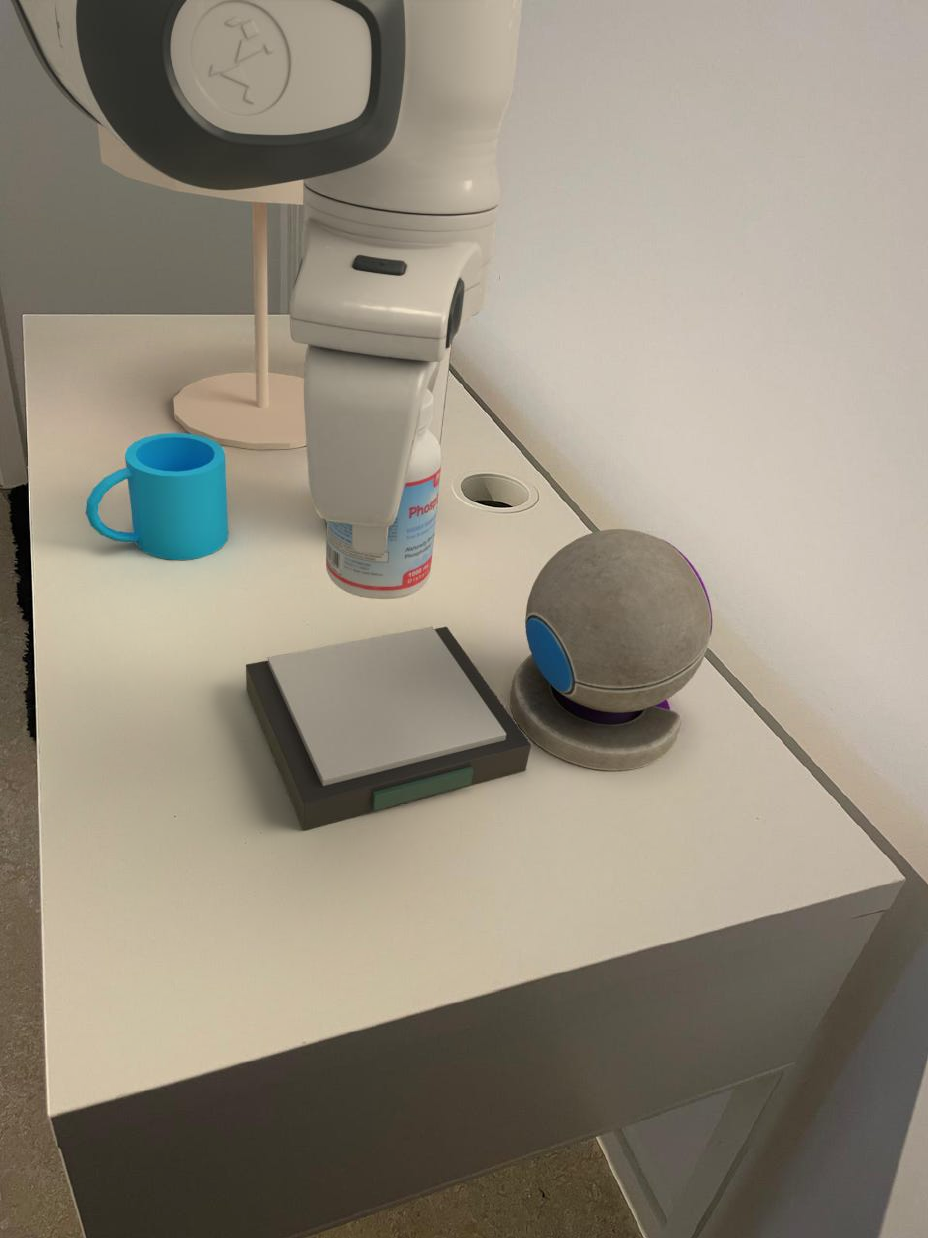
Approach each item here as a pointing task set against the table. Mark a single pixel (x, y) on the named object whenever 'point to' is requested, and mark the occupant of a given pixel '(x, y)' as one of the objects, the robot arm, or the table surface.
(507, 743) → the scale
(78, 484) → the table surface
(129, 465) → the mug
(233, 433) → the desk lamp
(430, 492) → the pill bottle
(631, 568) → the webcam
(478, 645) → the table surface
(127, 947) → the table surface
